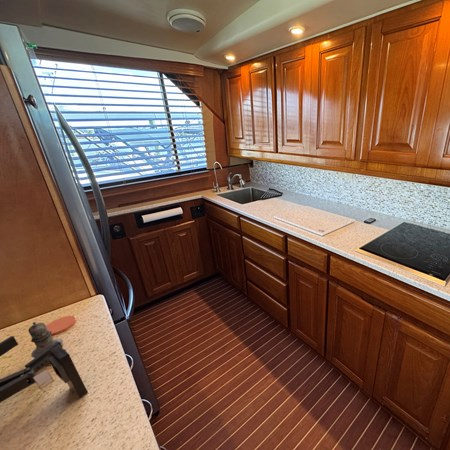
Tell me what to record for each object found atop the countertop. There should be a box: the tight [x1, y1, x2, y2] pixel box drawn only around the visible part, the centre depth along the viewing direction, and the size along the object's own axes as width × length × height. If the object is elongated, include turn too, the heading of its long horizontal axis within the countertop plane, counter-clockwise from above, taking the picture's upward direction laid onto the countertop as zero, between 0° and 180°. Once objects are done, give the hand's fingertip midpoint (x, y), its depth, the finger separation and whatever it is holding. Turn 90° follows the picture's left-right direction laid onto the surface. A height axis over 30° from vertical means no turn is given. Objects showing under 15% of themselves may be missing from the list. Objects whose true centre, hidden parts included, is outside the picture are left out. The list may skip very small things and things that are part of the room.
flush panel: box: [48, 345, 89, 399], centre depth 52 cm, size 2×5×12 cm, turn 62°
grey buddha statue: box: [27, 321, 67, 368], centre depth 61 cm, size 6×6×12 cm
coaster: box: [45, 315, 78, 336], centre depth 73 cm, size 8×8×1 cm
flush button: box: [33, 369, 55, 391], centre depth 49 cm, size 2×3×3 cm, turn 62°
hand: (37, 342), depth 59 cm, fingers open, 13 cm apart
